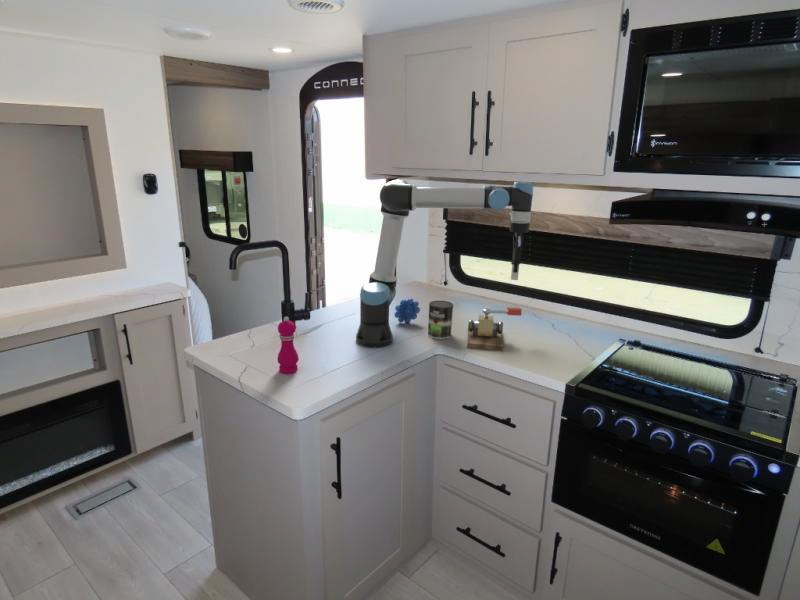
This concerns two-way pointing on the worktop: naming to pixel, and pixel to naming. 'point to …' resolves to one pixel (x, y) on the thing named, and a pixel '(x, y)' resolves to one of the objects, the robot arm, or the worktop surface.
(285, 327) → the pepper mill
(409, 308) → the grapes
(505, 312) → the valve lever
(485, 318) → the valve body
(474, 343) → the base board
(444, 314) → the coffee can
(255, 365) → the worktop surface
